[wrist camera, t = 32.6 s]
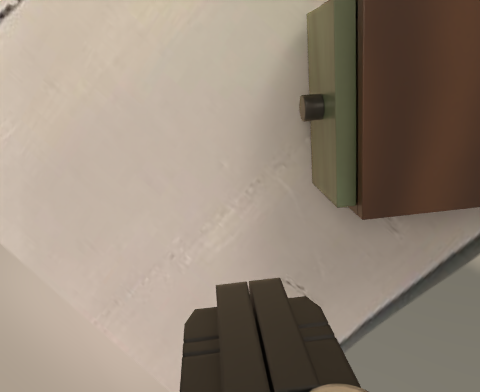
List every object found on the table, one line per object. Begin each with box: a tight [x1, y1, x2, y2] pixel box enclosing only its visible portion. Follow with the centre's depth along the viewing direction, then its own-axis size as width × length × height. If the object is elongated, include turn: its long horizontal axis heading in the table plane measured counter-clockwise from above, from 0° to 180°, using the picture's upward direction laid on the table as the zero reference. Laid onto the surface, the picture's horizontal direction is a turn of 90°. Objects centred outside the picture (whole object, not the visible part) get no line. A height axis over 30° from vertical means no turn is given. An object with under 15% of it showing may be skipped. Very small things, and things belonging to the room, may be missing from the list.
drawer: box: [299, 0, 358, 208], centre depth 26 cm, size 16×11×6 cm
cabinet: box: [321, 0, 480, 220], centre depth 26 cm, size 16×13×8 cm
